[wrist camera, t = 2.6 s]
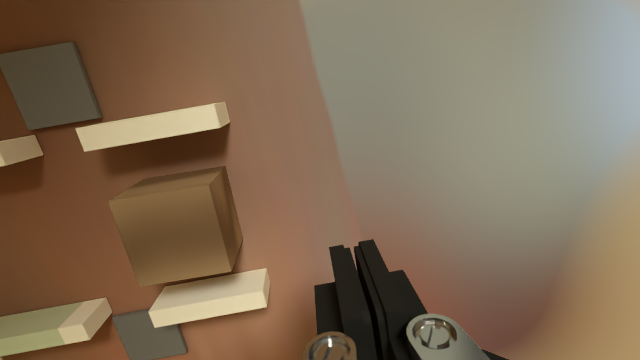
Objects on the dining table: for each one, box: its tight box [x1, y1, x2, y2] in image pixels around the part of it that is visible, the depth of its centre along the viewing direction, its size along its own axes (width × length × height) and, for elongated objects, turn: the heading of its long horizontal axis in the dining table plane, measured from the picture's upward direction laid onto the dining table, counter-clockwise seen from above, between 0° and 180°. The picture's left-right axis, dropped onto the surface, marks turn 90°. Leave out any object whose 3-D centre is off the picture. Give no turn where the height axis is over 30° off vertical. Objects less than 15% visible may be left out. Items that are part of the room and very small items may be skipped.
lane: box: [0, 102, 270, 356], centre depth 19 cm, size 12×25×2 cm, turn 99°
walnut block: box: [108, 166, 243, 287], centre depth 18 cm, size 5×5×4 cm
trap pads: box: [0, 42, 188, 360], centre depth 20 cm, size 21×4×1 cm, turn 9°
